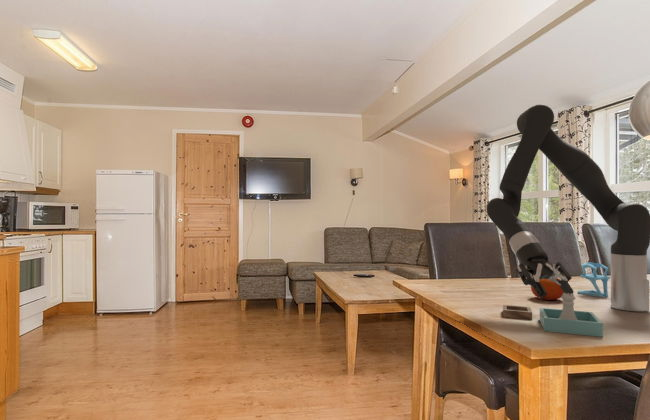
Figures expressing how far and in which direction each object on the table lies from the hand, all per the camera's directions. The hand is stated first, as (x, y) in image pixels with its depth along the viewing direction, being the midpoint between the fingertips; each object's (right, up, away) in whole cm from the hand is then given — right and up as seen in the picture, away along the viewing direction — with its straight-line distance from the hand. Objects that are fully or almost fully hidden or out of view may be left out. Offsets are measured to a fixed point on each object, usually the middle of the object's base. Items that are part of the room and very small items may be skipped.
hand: (557, 295), depth 112 cm
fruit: (+15, -8, +33) cm, 37 cm away
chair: (+37, -8, +41) cm, 56 cm away
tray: (+1, -8, -4) cm, 9 cm away
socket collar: (-7, -8, +9) cm, 14 cm away
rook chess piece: (+1, -7, -4) cm, 8 cm away
